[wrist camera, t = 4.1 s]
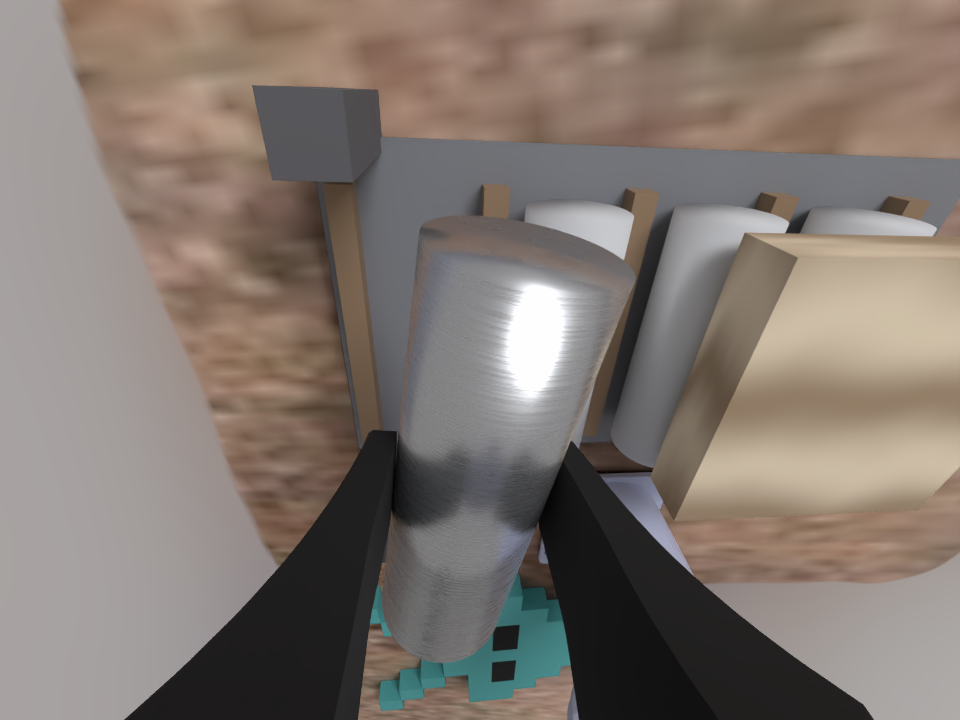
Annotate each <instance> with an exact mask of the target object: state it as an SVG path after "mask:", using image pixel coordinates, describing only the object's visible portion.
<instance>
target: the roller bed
mask: <svg viewBox="0 0 960 720" xmlns="http://www.w3.org/2000/svg"><path fill="white" fill-rule="evenodd" d="M252 87H253V92H254V97H255V101H256V106H257V111H258V115H259V120H260V125H261V129H262V134H263V139H264V143H265V148H266V152H267V157H268V162H269V166H270V171H271V176H272V180H285V181H316V184H317V190H318V197H319V203H320V209H321V215H322V221H323V228H324V234H325V240H326V246H327V252H328V259H329V265H330V271H331V277H332V283H333V290H334V296H335V302H336V308H337V314H338V320H339V327H340V333H341V339H342V345H343V351H344V358H345V364H346V370H347V376H348V382H349V389H350V395H351V401H352V407H353V413H354V420H355V426H356V432H357V438H358V444H359V449H362V447H363V445H364V443H365V440H366V438H367V435H368V433H369V432H371V431H372V430H384V431H397V443H396V454H397V444H398V434H399V425H400V415H401V405H402V395H403V385H404V376H405V366H406V356H407V346H408V336H409V326H410V317H411V307H412V297H413V287H414V277H415V268H416V258H417V248H418V238H419V230H420V227H421V226H422V225H423V224H424V223H426V222H427V221H429V220H432V219H435V218H440V217H446V216H457V215H473V216H488V217H497V218H505V219H511V220H517V221H522V222H527V223H532V224H536V225H540V226H544V227H548V228H552V229H555V230H559V231H562V232H565V233H568V234H571V235H574V236H577V237H579V238H582V239H585V240H587V241H590V242H592V243H594V244H596V245H599V246H601V247H603V248H605V249H607V250H608V251H610V252H612V253H614V254H615V255H617V256H618V257H620V258H621V259H623V260H624V261H625V262H626V263H627V264H628V265H629V266H630V267H631V268H632V269H633V271H634V273H635V276H636V278H635V282H634V285H633V287H632V290H631V292H630V295H629V297H628V300H627V302H626V305H625V307H624V310H623V312H622V315H621V317H620V320H619V322H618V325H617V327H616V329H615V332H614V334H613V337H612V339H611V342H610V344H609V347H608V349H607V352H606V354H605V357H604V359H603V362H602V364H601V367H600V369H599V372H598V374H597V377H596V379H595V382H594V384H593V387H592V389H591V392H590V394H589V397H588V399H587V402H586V404H585V407H584V409H583V412H582V414H581V417H580V419H579V422H578V424H577V427H576V429H575V432H574V434H573V436H572V439H571V441H573V442H574V444H575V445H576V446H577V447H578V449H579V447H580V443H592V442H613V443H614V445H615V446H616V447H617V449H618V450H619V451H620V452H621V453H623V454H624V455H625V456H626V457H628V458H629V459H631V460H633V461H635V462H637V463H639V464H642V465H644V466H648V467H652V468H654V466H655V463H656V460H657V458H658V455H659V453H660V450H661V447H662V445H663V442H664V440H665V437H666V435H667V432H668V429H669V427H670V424H671V422H672V419H673V416H674V414H675V411H676V409H677V406H678V404H679V401H680V398H681V396H682V393H683V391H684V388H685V385H686V383H687V380H688V378H689V375H690V372H691V370H692V367H693V365H694V362H695V360H696V357H697V354H698V352H699V349H700V347H701V344H702V341H703V339H704V336H705V334H706V331H707V328H708V326H709V323H710V321H711V318H712V316H713V313H714V310H715V308H716V305H717V303H718V300H719V297H720V295H721V292H722V290H723V287H724V284H725V282H726V279H727V277H728V274H729V272H730V269H731V266H732V264H733V261H734V259H735V256H736V253H737V251H738V248H739V246H740V243H741V241H742V238H743V235H744V233H791V234H840V235H889V236H935V235H936V234H937V232H938V231H939V229H940V228H941V226H942V225H943V223H944V221H945V220H946V218H947V217H948V215H949V214H950V212H951V210H952V209H953V207H954V206H955V204H956V203H957V201H958V199H959V198H960V160H958V159H933V158H907V157H882V156H856V155H831V154H806V153H780V152H755V151H729V150H704V149H678V148H653V147H627V146H602V145H576V144H551V143H525V142H500V141H474V140H449V139H423V138H398V137H382V135H381V122H380V109H379V96H378V90H367V89H347V88H327V87H294V86H256V85H252ZM395 464H396V461H395ZM388 533H389V531H388ZM387 542H388V536H387V540H386V545H385V550H384V555H383V560H382V562H386V552H387Z"/></svg>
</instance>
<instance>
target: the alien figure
mask: <svg viewBox="0 0 960 720" xmlns="http://www.w3.org/2000/svg"><path fill="white" fill-rule="evenodd" d="M377 623H381V626H382V630H383V634H384V637H386V636H392V634H391V632H390V631H389V629H388V627H387V624H386V622H385V619H384V614H383V609H382V593H381V589H380V585H377V589H376V594H375V599H374V604H373V609H372V614H371V620H370V624H377ZM567 665H571V664H570V658H569V652H568V646H567V640H566V634H565V628H564V624H563V619H562V614H561V610H560V606H559V602H558V599H555V600H547V598H546V593H545V588H544V587H536V588H524V589H522V588H521V582H520V576H519V574H517V576H516V578H515V581H514V583H513V586H512V588H511V591H510V593H509V596H508V598H507V601H506V603H505V606H504V608H503V611H502V613H501V616H500V618H499V621H498V623H497V626H496V628H495V630H494V632H493V634H492V635H491V637H490V638H489V640H488V641H487V642H486V643H485V644H484V646H483V647H482V648H480V649H479V650H478V651H477V652H475V653H474V654H472V655H470V656H469V657H467V658H464V659H462V660H459V661H455V662H449V663H435V662H430V661H426V660H423V659H421V668H416V669H405V670H401V671H400V680H390V681H381V685H380V695H379V705H380V707H381V710H382V711H387V710H397V709H404V700H410V699H420V698H424V689H428V688H438V687H446V677H452V676H462V675H468V685H469V702H477V701H487V700H497V699H507V698H512V695H513V689H521V688H531V687H535V684H536V678H541V677H552V676H559V673H560V669H561V666H567Z"/></svg>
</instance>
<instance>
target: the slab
mask: <svg viewBox="0 0 960 720" xmlns="http://www.w3.org/2000/svg"><path fill="white" fill-rule="evenodd" d="M959 467H960V237H937V236H889V235H840V234H791V233H744V235H743V238H742V241H741V243H740V246H739V248H738V251H737V253H736V256H735V259H734V261H733V264H732V266H731V269H730V272H729V274H728V277H727V279H726V282H725V284H724V287H723V290H722V292H721V295H720V297H719V300H718V303H717V305H716V308H715V310H714V313H713V316H712V318H711V321H710V323H709V326H708V328H707V331H706V334H705V336H704V339H703V341H702V344H701V347H700V349H699V352H698V354H697V357H696V360H695V362H694V365H693V367H692V370H691V372H690V375H689V378H688V380H687V383H686V385H685V388H684V391H683V393H682V396H681V398H680V401H679V404H678V406H677V409H676V411H675V414H674V416H673V419H672V422H671V424H670V427H669V429H668V432H667V435H666V437H665V440H664V442H663V445H662V447H661V450H660V453H659V455H658V458H657V460H656V463H655V466H654V468H653V471H652V473H651V476H650V478H651V480H652V482H653V483H654V485H655V487H656V489H657V491H658V493H659V495H660V496H661V498H662V500H663V502H664V504H665V506H666V507H667V509H668V511H669V513H670V515H671V517H672V518H673V520H674V521H687V520H709V519H732V518H754V517H776V516H798V515H820V514H842V513H864V512H886V511H908V510H918V509H919V508H920V507H921V506H922V505H923V504H924V503H925V502H926V501H927V500H928V499H929V498H930V497H931V496H932V495H933V494H934V493H935V492H936V491H937V490H938V489H939V488H940V487H941V485H942V484H943V483H944V482H945V481H946V480H947V479H948V478H949V477H950V476H951V475H952V474H953V473H954V472H955V471H956V470H957V469H958V468H959Z"/></svg>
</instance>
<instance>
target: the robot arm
mask: <svg viewBox="0 0 960 720" xmlns="http://www.w3.org/2000/svg"><path fill="white" fill-rule="evenodd" d="M396 443H397V431H384V430H372V431H371V432H369V433H368V435H367V438H366V440H365V443H364V445H363V447H362V449H361V451H360V453H359V455H358V457H357V458H356V460H355V462H354V464H353V465H352V467H351V469H350V471H349V472H348V474H347V476H346V477H345V479H344V480H343V482H342V483H341V485H340V487H339V488H338V490H337V491H336V493H335V495H334V496H333V498H332V499H331V500H330V502H329V503H328V505H327V506H326V508H325V509H324V510H323V512H322V513H321V514H320V516H319V517H318V519H317V520H316V521H315V523H314V524H313V526H312V527H311V528H310V530H309V531H308V532H307V534H306V535H305V536H304V537H303V539H302V540H301V541H300V543H299V544H298V545H297V546H296V548H295V549H294V550H293V551H292V552H291V554H290V555H289V556H288V557H287V558H286V560H285V561H284V562H283V563H282V564H281V566H280V567H279V568H278V569H277V570H276V571H275V573H274V574H273V575H272V576H271V577H270V578H269V579H268V580H267V582H266V583H265V584H264V585H263V586H262V587H261V588H260V589H259V590H258V592H257V593H256V594H255V595H254V596H253V597H252V598H251V600H249V601H248V602H247V604H246V605H245V606H244V607H243V608H242V609H241V610H240V611H239V612H238V613H237V614H236V615H235V616H234V617H233V618H232V619H231V620H230V621H229V622H228V623H227V624H226V625H225V626H224V627H223V628H222V629H221V630H220V631H219V632H218V633H217V634H216V635H215V636H214V637H213V638H212V639H211V640H210V641H209V642H208V643H207V644H206V645H205V646H204V647H203V648H202V649H201V650H200V651H199V652H198V653H197V654H196V655H195V656H194V657H193V658H192V659H191V660H190V661H189V662H188V663H186V665H184V666H183V667H182V668H181V669H180V670H179V671H178V672H177V673H176V674H175V675H174V676H173V677H171V678H170V679H169V680H168V681H167V682H166V683H165V684H164V685H163V686H162V687H160V688H159V689H158V690H157V691H156V692H155V693H154V694H153V695H151V696H150V697H149V698H148V699H147V700H146V701H145V702H144V703H143V704H141V705H140V706H139V707H138V708H137V709H136V710H135V711H134V712H132V713H131V714H130V715H129V716H128V717H127V718H126V719H125V720H358V713H359V705H360V696H361V688H362V680H363V672H364V663H365V655H366V647H367V639H368V632H369V626H370V620H371V614H372V609H373V604H374V599H375V594H376V589H377V584H378V579H379V575H380V570H381V565H382V560H383V555H384V550H385V545H386V540H387V536H388V531H389V526H390V519H391V509H392V496H393V484H394V474H395V461H396ZM651 473H652V472H640V473H611V474H598V473H597V471H596V470H595V469H594V468H593V466H592V465H591V464H590V462H589V461H588V460H587V459H586V457H585V456H584V455H583V454H582V452H581V451H580V450H579V449H578V447H577V446H576V445H575V444H574V442H573V441H570V444H569V446H568V449H567V451H566V454H565V456H564V459H563V461H562V464H561V466H560V469H559V471H558V474H557V476H556V479H555V481H554V484H553V486H552V489H551V491H550V494H549V496H548V499H547V501H546V504H545V506H544V509H543V511H542V514H541V516H540V519H539V521H538V522H539V528H540V532H541V536H542V540H541V545H540V550H539V555H538V558H539V562H540V563H542V564H549V568H550V571H551V575H552V579H553V583H554V587H555V591H556V595H557V598H558V602H559V606H560V610H561V614H562V619H563V624H564V628H565V634H566V640H567V646H568V652H569V658H570V664H571V670H572V677H573V683H574V687H573V689H572V692H571V699H570V702H569V705H568V714H567V720H874V719H873V718H872V716H871V715H870V714H869V712H868V711H867V709H866V708H865V706H864V705H863V704H862V703H860V702H858V701H857V700H856V699H854V698H853V697H851V696H850V695H848V694H847V693H846V692H844V691H843V690H841V689H839V688H838V687H837V686H835V685H834V684H832V683H831V682H829V681H828V680H827V679H825V678H824V677H822V676H821V675H819V674H818V673H816V672H815V671H813V670H812V669H810V668H809V667H808V666H806V665H805V664H803V663H802V662H800V661H799V660H798V659H796V658H795V657H793V656H792V655H791V654H789V653H788V652H786V651H785V650H784V649H783V648H781V647H780V646H779V645H777V644H776V643H775V642H773V641H772V640H771V639H769V638H768V637H767V636H765V635H764V634H763V633H761V632H760V631H759V630H758V629H756V628H755V627H754V626H753V625H751V624H750V623H749V622H747V621H746V620H745V619H744V618H742V617H741V616H740V615H738V614H737V613H736V612H735V611H734V610H732V609H731V608H730V607H729V606H728V605H727V604H725V603H724V602H723V601H722V600H721V599H720V598H718V597H717V596H716V595H715V594H714V593H712V592H711V591H710V590H709V589H708V588H707V587H705V586H704V585H703V584H702V583H701V582H700V581H699V580H698V579H696V578H695V577H694V575H693V573H692V571H691V569H690V567H689V566H688V564H687V562H686V560H685V558H684V556H683V554H682V552H681V550H680V548H679V546H678V544H677V543H676V541H675V539H674V537H673V535H672V533H671V531H670V529H669V527H668V525H667V523H666V521H665V520H664V518H663V516H662V514H661V512H660V508H661V506H662V504H663V500H662V498H661V496H660V495H659V493H658V491H657V489H656V487H655V485H654V483H653V482H652V480H651V478H650V476H651Z"/></svg>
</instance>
